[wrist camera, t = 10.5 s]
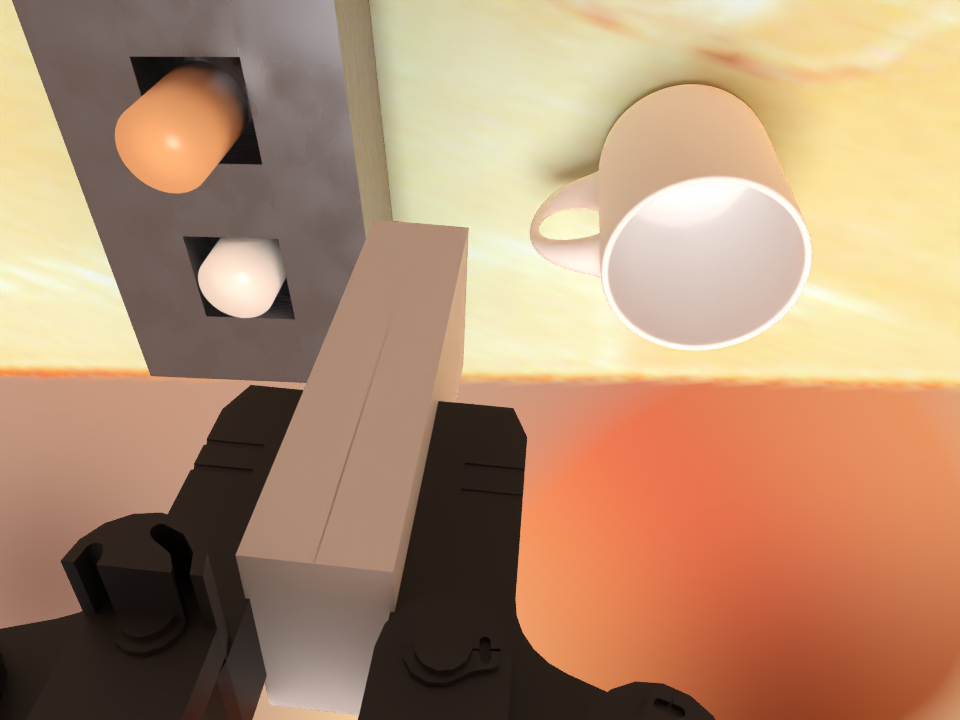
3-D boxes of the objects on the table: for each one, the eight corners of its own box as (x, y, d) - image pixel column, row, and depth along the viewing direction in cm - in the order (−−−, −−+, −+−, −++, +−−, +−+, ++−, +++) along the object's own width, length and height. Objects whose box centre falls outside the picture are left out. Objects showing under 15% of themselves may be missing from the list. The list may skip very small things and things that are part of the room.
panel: (-16, -341, 32) (-117, -349, 27) (329, -357, 31) (284, -368, 26) (189, 316, 52) (151, 376, 47) (403, 324, 51) (385, 386, 46)
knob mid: (152, 60, 36) (101, 102, 32) (238, 60, 36) (197, 103, 32) (176, 144, 39) (131, 192, 35) (256, 145, 38) (220, 194, 35)
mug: (522, 102, 41) (506, 202, 33) (769, 65, 39) (819, 162, 30) (545, 247, 46) (537, 365, 38) (764, 222, 44) (807, 342, 36)
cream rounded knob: (223, 205, 45) (189, 252, 41) (293, 206, 44) (266, 254, 40) (239, 266, 47) (208, 316, 43) (305, 268, 47) (280, 319, 43)
